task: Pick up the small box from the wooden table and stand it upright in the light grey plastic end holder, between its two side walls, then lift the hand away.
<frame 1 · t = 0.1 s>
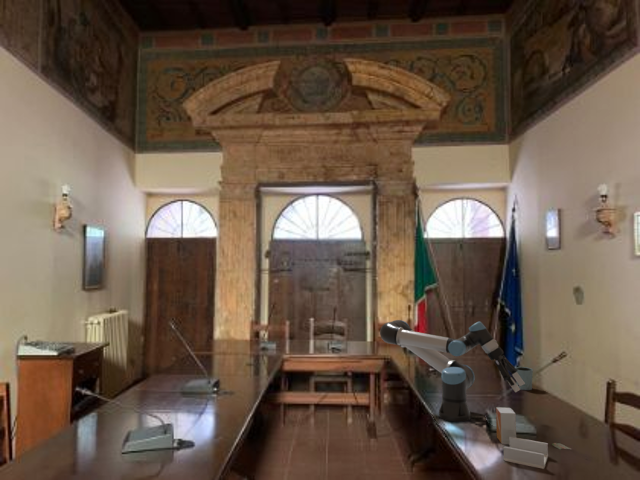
hand: (520, 387, 224), 15 cm above the table, tool tilted 35°, fingers open, 13 cm apart
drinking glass: (524, 388, 282), on the table
small box: (506, 441, 196), on the table
end holder: (526, 458, 178), on the table
map: (575, 454, 183), on the table
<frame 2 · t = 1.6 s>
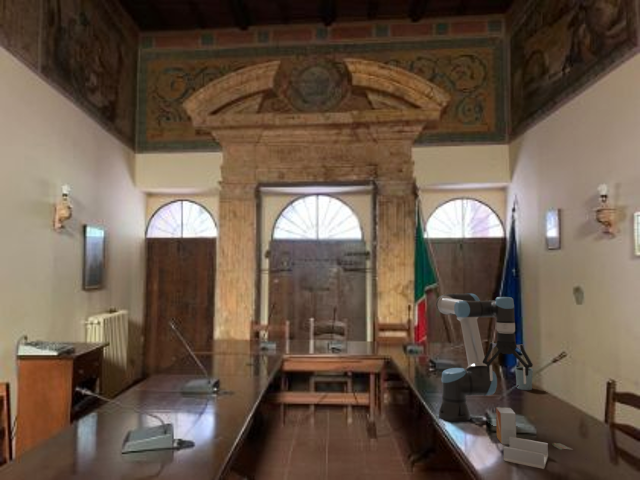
hand: (507, 381, 199), 25 cm above the table, tool pointing down, fingers open, 13 cm apart
nothing on the table moved.
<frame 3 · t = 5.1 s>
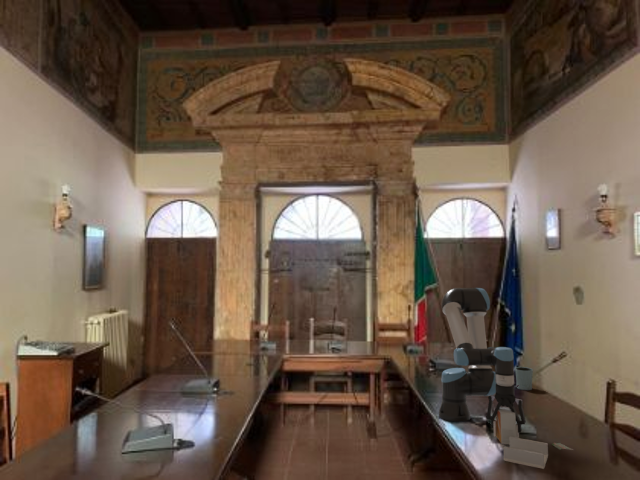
hand: (506, 437, 196), 1 cm above the table, tool pointing down, fingers closed on small box, 8 cm apart
small box: (506, 441, 196), on the table, touching gripper
everything else where it was.
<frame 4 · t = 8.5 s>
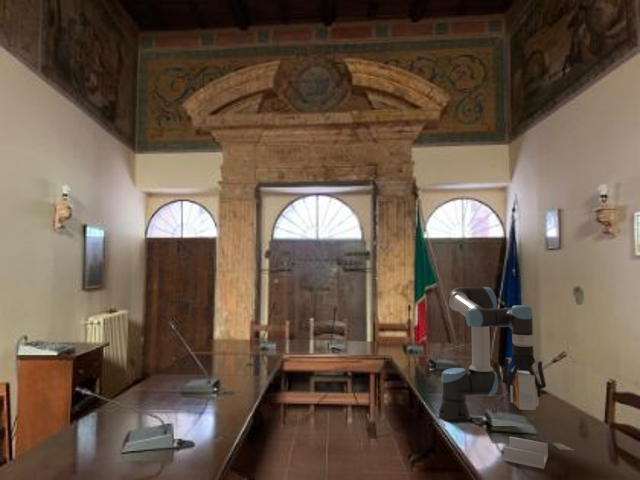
hand: (524, 403, 179), 21 cm above the table, tool pointing down, fingers closed on small box, 8 cm apart
small box: (524, 407, 179), point 19 cm above the table, touching gripper
everything else where it was.
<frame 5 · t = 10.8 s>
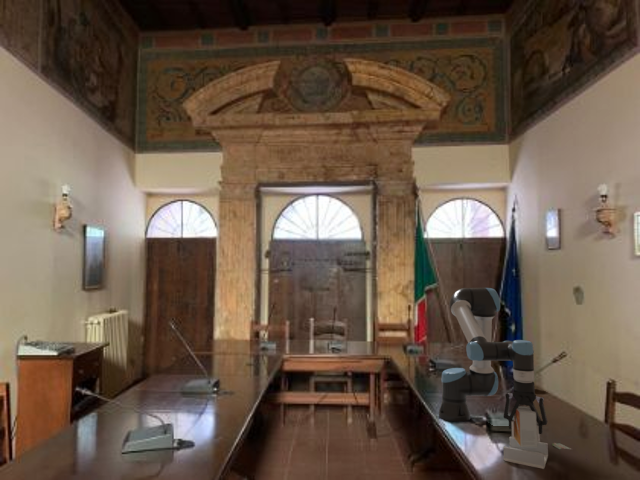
hand: (525, 439, 178), 7 cm above the table, tool pointing down, fingers closed on small box, 8 cm apart
small box: (525, 443, 178), point 6 cm above the table, touching gripper
everything else where it was.
when the fingers open (4 cm above the table, at t = 12.4 s): small box drops 2 cm, resting on end holder.
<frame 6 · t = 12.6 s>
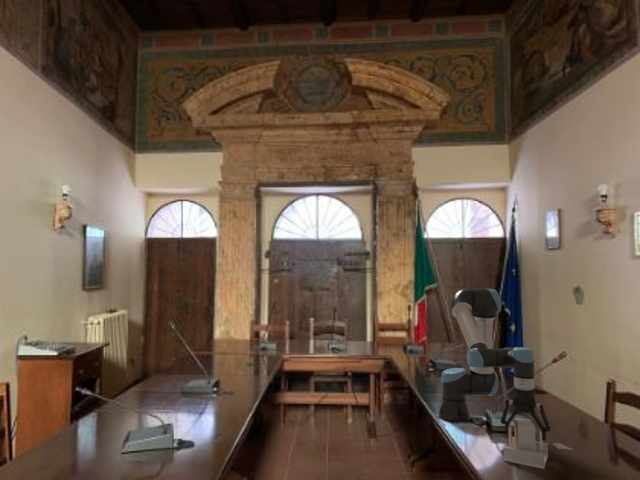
hand: (525, 445, 178), 5 cm above the table, tool pointing down, fingers open, 10 cm apart
small box: (525, 456, 178), point 1 cm above the table, touching end holder
everything else where it was.
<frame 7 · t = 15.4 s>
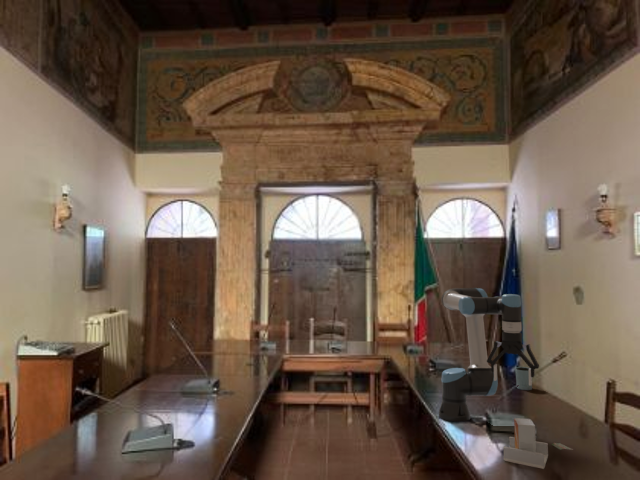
hand: (512, 382, 191), 26 cm above the table, tool pointing down, fingers open, 13 cm apart
nothing on the table moved.
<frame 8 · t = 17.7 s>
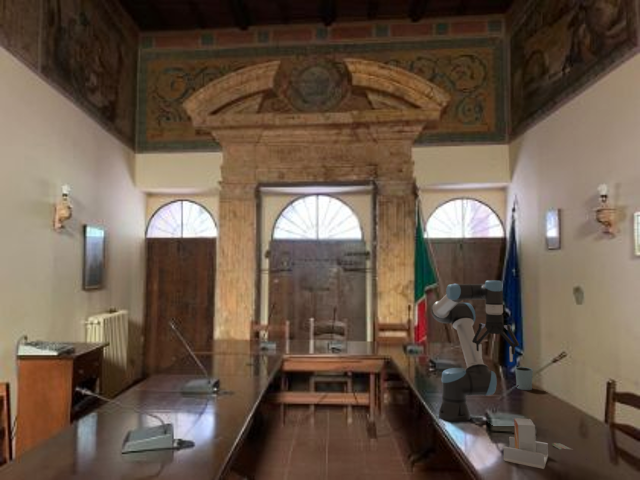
hand: (495, 359, 211), 32 cm above the table, tool pointing down, fingers open, 13 cm apart
nothing on the table moved.
at the end: small box 0.3 cm off-centre on the end holder, point 0.8 cm above the end holder's base; small box tilted 0°; the gripper is holding nothing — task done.
